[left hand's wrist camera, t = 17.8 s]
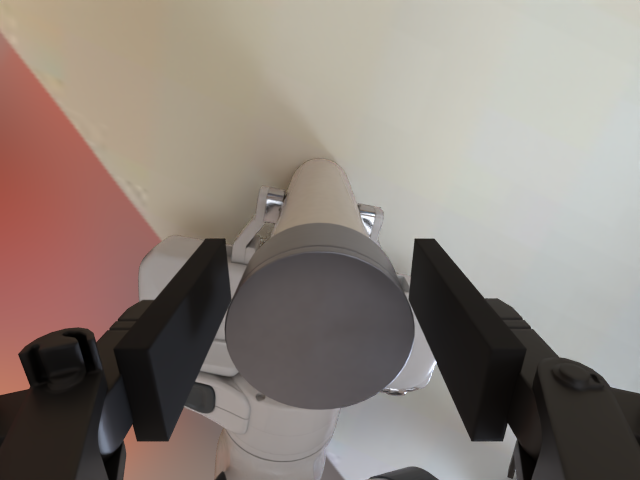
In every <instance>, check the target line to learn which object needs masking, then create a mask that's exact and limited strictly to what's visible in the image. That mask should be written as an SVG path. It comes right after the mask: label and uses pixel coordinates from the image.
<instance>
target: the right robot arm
mask: <svg viewBox="0 0 640 480" xmlns="http://www.w3.org/2000/svg"><path fill="white" fill-rule="evenodd" d="M285 194H286V190H283V189H278V188H273V187H269V186H262V187H261V188H260V191H259V195H258V200H257V207H256V214H255V215H254V216H253V217H252V219H251V220H250V221H249V222H248V224H247V225H246V226H245V227H244V228H243V230H242V231H241V232H240V233H239V235H238V237H237V238H236V240H235V242H234V243H233V245H229V244H226V251H227V260H228V270H229V279H230V289H231V298H233V296H234V294H235V291H236V289H237V287H238V285H239V282H240V280H241V278H242V276H243V273H244V271H245V269H246V267H247V264H248V262H249V261H250V259H251V258H252V256H253V254H254V253H255V252H256V251H257V250H258V248H259V247H260V240H261V238H260V236H257V235H256V233H257V232H258V231H259V230H260V229H261V227H262V226H263V225H264V224H265V223H266V222H269V223H275V222H276V220H277V217H278V214H279V211H280V209H281V206H282V203H283V201H284V198H285ZM357 205H358V208H359V210H360V213H361V216H362V218H363V221H364V224H365V226H366V229H367V232H368V235H369V237H370V239H371V240H372V241H374V242H375V243H376V244H377V245H378V246H379V247H380V243H379V241H378V237H379V234H380V230H381V226H382V222H383V216H384V212H383V210H382V209H381V207H375V206H370V205H364V204H359V203H358V204H357ZM203 241H204V240H201V239H195V238H189V237H184V236H178V235H172V236H169V237H167V238H166V239H165V240H163V241H162V242H160V243H159V244H158V245H156V246H155V247H154V248H153V249H152V250H151V251H150V252H149V253H148V254H147V255H146V256H145V257H144V259H143V260H142V262H141V264H140V267H139V277H138V287H139V302H140V301H141V300H155V299H156V297H157V296H158V295H159V294H160V293H161V291H162V290H163V289H164V288H165V287H166V285H167V284H168V283H169V282H170V281H171V279H172V278H173V277H174V276H175V275H176V273H177V272H178V271H179V270H180V269H181V268H182V266H183V265H184V264H185V263H186V262H187V260H188V259H189V258H190V257H191V256H192V254H193V253H194V252H195V251H196V250H197V248H198V247H199V246H200V245H201V244H202V242H203ZM380 248H381V247H380ZM396 275H397V277H398V279H399V281H400V284H401V286H402V288H403V290H404V293H405V295H406V297H407V299H408V298H409V289H410V279H411V276H408V275H403V274H397V273H396ZM408 301H409V300H408ZM230 303H231V302H230ZM409 304H410V303H409ZM410 306H411V305H410ZM411 310H412V313H413V317H414V324H415V336H414V342H413V347H412V350H411V353H410V356H409V358H408V360H407V362H406V364H405V366H404V368H403V369H402V371H401V372H400V373H399V375H398V376H397V377H396V378H395V379H394V380H393V381H392V382H391V383H390V384H389V385H388V386H387V387H386V388H384V389H383V390H382V391H380V392H382V393H387V394H388V395H393V396H403V395H405V394H406V392H410V391H415V390H417V389H419V388H424V387H425V386H426V385H427V384H428V382H429V380H430V378H431V375H432V373H433V370H434V367H435V365H436V361H435V358H434V356H433V354H432V352H431V349H430V347H429V345H428V343H427V341H426V338H425V336H424V334H423V332H422V329H421V327H420V325H419V323H418V320H417V318H416V316H415V314H414V311H413V309H412V307H411ZM227 311H228V309H227ZM227 311H226V314H225V316H224V318H223V320H222V323H221V325H220V327H219V329H218V332H217V334H216V336H215V338H214V341H213V343H212V345H211V347H210V349H209V352H208V354H207V356H206V358H205V361H204V363H203V365H202V367H201V370H200V372H199V374H198V376H197V379H196V381H195V383H194V385H193V387H192V390H191V392H190V394H189V396H188V399H187V401H186V403H185V405H184V407H185V408H187V409H189V410H192V411H194V412H196V413H198V414H200V415H202V416H204V417H206V418H208V419H210V420H212V421H214V422H216V423H217V424H219V425H220V426H222V427H223V430H222V432H221V435H220V437H219V441H218V445H217V451H216V460H215V477H214V480H320V479H321V476H322V473H323V469H324V464H325V457H326V450H325V448H326V446H327V445H328V443H329V442H330V440H331V438H332V436H333V433H334V430H335V427H336V423H337V419H338V416H339V412H340V409H341V408H336V409H327V410H311V409H303V408H297V407H293V406H289V405H286V404H283V403H280V402H277V401H275V400H273V399H271V398H269V397H267V396H265V395H264V394H262V393H261V392H259V391H258V390H256V389H255V388H254V387H253V386H251V385H250V384H249V383H248V382H247V381H246V380H245V379H244V378H243V377H242V375H241V374H240V373H239V371H238V370H237V369H236V367H235V365H234V364H233V362H232V360H231V358H230V355H229V352H228V350H227V345H226V341H225V319H226V315H227ZM367 480H438V479H437V478H436V477H434V476H433V475H432V474H430V473H429V472H427V471H425V470H424V469H421V468H418V467H406V468H403V469H399V470H395V471H392V472H388V473H384V474H380V475H377V476H373V477H371V478H369V479H367Z"/></svg>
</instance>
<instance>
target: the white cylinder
mask: <svg viewBox="0 0 640 480" xmlns="http://www.w3.org/2000/svg"><path fill="white" fill-rule="evenodd" d="M307 223H332V224H337V225H342V226H345V227H348V228H351V229H354V230H356V231H358V232H360V233H362V234H364V235H365V236H367V237H368V238H370V237H369V235H368V232H367V229H366V226H365V224H364V221H363V218H362V216H361V213H360V210H359V208H358V205H357V202H356V199H355V197H354V194H353V191H352V189H351V186H350V183H349V181H348V178H347V175H346V174H345V172H344V170H343V169H342V168H341V167H340V166H339V165H338V164H336V163H334V162H333V161H330V160H327V159H312V160H309V161H307V162H305V163H303V164H302V165H301V166H299V167H298V168H297V170H296V171H295V172H294V174H293V176H292V179H291V182H290V184H289V187H288V190H287V193H286V195H285V198H284V201H283V203H282V206H281V209H280V211H279V214H278V217H277V220H276V222H275V225H274V228H273V230H272V233H271V236H270V238H271V237H273V236H274V235H276V234H277V233H279V232H281V231H283V230H285V229H288V228H291V227H294V226H297V225H302V224H307Z"/></svg>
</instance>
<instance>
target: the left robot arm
mask: <svg viewBox="0 0 640 480" xmlns="http://www.w3.org/2000/svg"><path fill="white" fill-rule="evenodd" d="M231 300H232V298H231V289H230V279H229V270H228V260H227V251H226V241H225V239H205V240H204V241H203V242H202V244H201V245H200V246H199V247H198V248H197V250H196V251H195V252H194V253H193V254H192V256H191V257H190V258H189V259H188V260H187V262H186V263H185V264H184V265H183V266H182V268H181V269H180V270H179V271H178V272H177V273H176V275H175V276H174V277H173V278H172V279H171V281H170V282H169V283H168V284H167V285H166V287H165V288H164V289H163V290H162V291H161V293H160V294H159V295H158V296H157V297H156V299H155V300H141V301H140V302H138V303H136V304H135V305H133V306H131V307H130V308H128V309H127V310H126V311H125V312H124V313H123V314H122V315H121V316H120V318H119V319H118V321H116V322H115V323H114V324H113V325H112V326H111V327H110V330H108V331H107V332H106V333H105V334H104V335H103V336H102V337H101V338H100V339H99V340H98V341H97V342H96V340H95V337H94V333H93V332H91V331H90V330H89V329H85V328H68V329H63V330H59V331H55V332H51V333H49V334H47V335H44V336H42V337H40V338H38V339H36V340H34V341H33V342H31V343H30V344H28V345H27V346H25V347H24V348H23V350H22V351H21V352H20V353H19V354H18V355H19V358H20V360H21V363H22V366H23V368H24V371H25V373H26V376H27V379H28V381H29V384H30V388H29V389H27V390H23V391H18V392H13V393H9V394H4V395H0V480H123V477H124V469H125V461H126V449H125V444H124V441H123V440H124V438H125V436H126V434H127V433H128V431H129V429H130V428H131V426H132V424H133V427H134V431H135V435H136V439H137V441H169V439H170V437H171V434H172V432H173V430H174V428H175V425H176V423H177V421H178V419H179V417H180V414H181V412H182V410H183V408H184V405H185V403H186V401H187V399H188V396H189V394H190V392H191V390H192V387H193V385H194V383H195V381H196V379H197V376H198V374H199V372H200V370H201V367H202V365H203V363H204V361H205V358H206V356H207V354H208V352H209V349H210V347H211V345H212V343H213V341H214V338H215V336H216V334H217V332H218V329H219V327H220V325H221V323H222V320H223V318H224V316H225V314H226V311H227V309H228V307H229V305H230V302H231ZM408 300H409V303H410V305H411V307H412V309H413V311H414V314H415V316H416V318H417V320H418V323H419V325H420V327H421V329H422V332H423V334H424V336H425V338H426V341H427V343H428V345H429V347H430V349H431V352H432V354H433V356H434V358H435V361H436V363H437V365H438V367H439V370H440V372H441V374H442V376H443V379H444V381H445V383H446V385H447V387H448V390H449V392H450V394H451V396H452V399H453V401H454V403H455V405H456V408H457V410H458V412H459V414H460V417H461V419H462V421H463V423H464V425H465V428H466V430H467V432H468V434H469V437H470V439H471V441H503V439H504V435H505V431H506V427H507V424H509V426H510V427H511V429H512V431H513V433H514V434H515V436H516V438H517V441H516V444H515V448H514V452H513V455H512V459H511V462H510V466H509V470H508V477H509V478H512V479H513V476H514V472H515V470H516V476H517V480H640V394H639V393H634V392H630V391H625V390H620V389H616V388H612V387H610V386H609V384H608V383H607V382H606V381H605V379H604V378H603V377H602V376H601V375H599V374H598V373H597V372H595V371H594V370H593V369H591V368H589V367H587V366H585V365H583V364H581V363H579V362H576V361H573V360H569V359H566V358H559V356H558V355H557V354H556V353H555V352H554V351H553V350H552V349H551V348H550V347H549V346H548V345H547V344H546V343H545V342H544V341H543V339H542V338H541V337H540V336H539V335H538V334H537V333H536V332H535V331H534V330H533V329H531V327H530V326H529V325H528V323H527V322H526V321H525V320H523V319H522V317H521V316H520V315H519V314H518V313H517V312H516V311H515V310H514V309H513V308H512V307H511V306H509V305H507V304H506V303H504V302H502V301H501V300H499V299H484V297H483V296H482V295H481V294H480V293H479V291H478V290H477V289H476V288H475V287H474V285H473V284H472V283H471V282H470V281H469V279H468V278H467V277H466V276H465V275H464V273H463V272H462V271H461V270H460V269H459V268H458V266H457V265H456V264H455V263H454V262H453V260H452V259H451V258H450V257H449V256H448V254H447V253H446V252H445V251H444V250H443V248H442V247H441V246H440V245H439V244H438V242H437V241H436V240H435V239H415V241H414V251H413V260H412V270H411V279H410V289H409V298H408Z"/></svg>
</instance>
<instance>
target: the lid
mask: <svg viewBox="0 0 640 480" xmlns="http://www.w3.org/2000/svg"><path fill="white" fill-rule="evenodd" d="M414 336H415V324H414V317H413V313H412V310H411V306H410V304H409V301H408V299H407V297H406V295H405V293H404V290H403V288H402V286H401V284H400V281H399V279H398V277H397V275H396V272H395V270H394V268H393V266H392V264H391V262H390V260H389V258H388V257H387V255H386V254H385V253H384V251H383V250H382V249H381V248H380V247H379V246H378V245H377V244H376V243H375V242H374V241H372V240H371V239H370V238H368V237H367V236H365V235H364V234H362V233H360V232H358V231H356V230H354V229H351V228H348V227H345V226H342V225H337V224H332V223H307V224H302V225H297V226H294V227H291V228H288V229H285V230H283V231H281V232H279V233H277V234H276V235H274V236H273V237H271V238H270V239H268V240H267V241H266V242H265V243H264V244H262V245H261V246H260V247H259V248H258V250H257V251H256V252H255V253H254V254H253V256H252V258H251V259H250V261H249V262H248V264H247V267H246V269H245V271H244V273H243V276H242V278H241V280H240V282H239V285H238V287H237V289H236V291H235V294H234V296H233V298H232V300H231V303H230V305H229V307H228V311H227V315H226V319H225V341H226V345H227V350H228V352H229V355H230V358H231V360H232V362H233V364H234V365H235V367H236V369H237V370H238V371H239V373H240V374H241V375H242V377H243V378H244V379H245V380H246V381H247V382H248V383H249V384H250V385H251V386H253V387H254V388H255V389H256V390H258V391H259V392H261V393H262V394H264V395H265V396H267V397H269V398H271V399H273V400H275V401H277V402H280V403H283V404H286V405H289V406H293V407H297V408H303V409H311V410H327V409H336V408H343V407H347V406H350V405H354V404H357V403H359V402H362V401H364V400H366V399H368V398H370V397H372V396H374V395H376V394H377V393H379V392H380V391H382V390H383V389H384V388H386V387H387V386H388V385H389V384H390V383H391V382H392V381H393V380H394V379H395V378H396V377H397V376H398V375H399V373H400V372H401V371H402V369H403V368H404V366H405V364H406V362H407V360H408V358H409V356H410V353H411V350H412V347H413V342H414Z"/></svg>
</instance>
